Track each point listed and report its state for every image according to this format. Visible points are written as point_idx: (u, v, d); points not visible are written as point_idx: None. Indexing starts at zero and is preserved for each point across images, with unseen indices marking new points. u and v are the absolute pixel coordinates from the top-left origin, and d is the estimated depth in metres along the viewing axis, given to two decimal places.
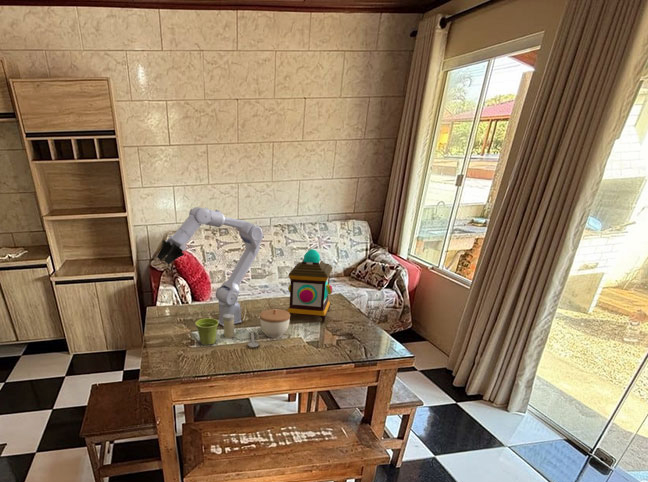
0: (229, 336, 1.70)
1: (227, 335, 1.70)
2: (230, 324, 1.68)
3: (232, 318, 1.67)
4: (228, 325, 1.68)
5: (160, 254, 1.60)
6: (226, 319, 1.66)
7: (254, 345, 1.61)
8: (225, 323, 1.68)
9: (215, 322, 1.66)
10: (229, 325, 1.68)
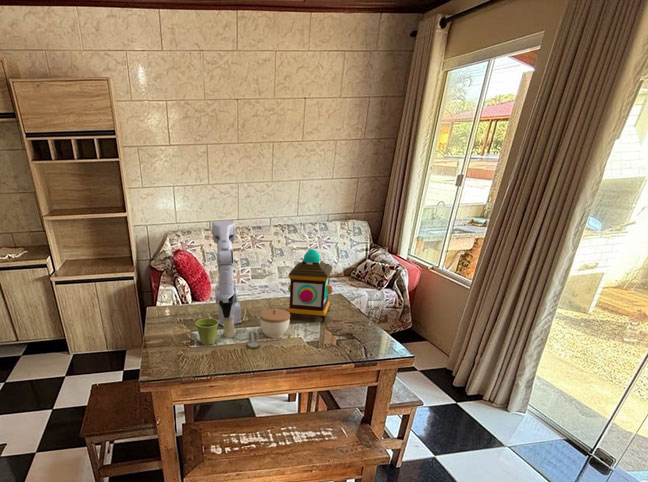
0: (229, 336, 1.70)
1: (227, 335, 1.70)
2: (230, 324, 1.68)
3: (232, 318, 1.67)
4: (228, 325, 1.68)
5: None
6: (226, 319, 1.66)
7: (254, 345, 1.61)
8: (225, 323, 1.68)
9: (215, 322, 1.66)
10: (229, 325, 1.68)
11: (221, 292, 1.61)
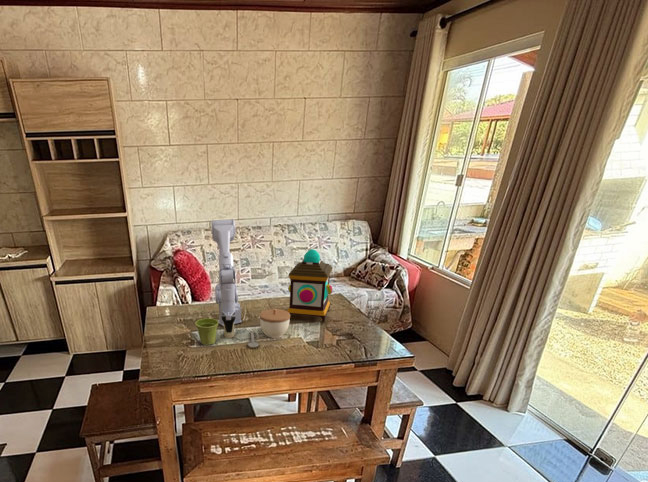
0: (229, 336, 1.70)
1: (227, 335, 1.70)
2: None
3: None
4: None
5: None
6: None
7: (254, 345, 1.61)
8: None
9: (215, 322, 1.66)
10: None
11: (223, 309, 1.64)
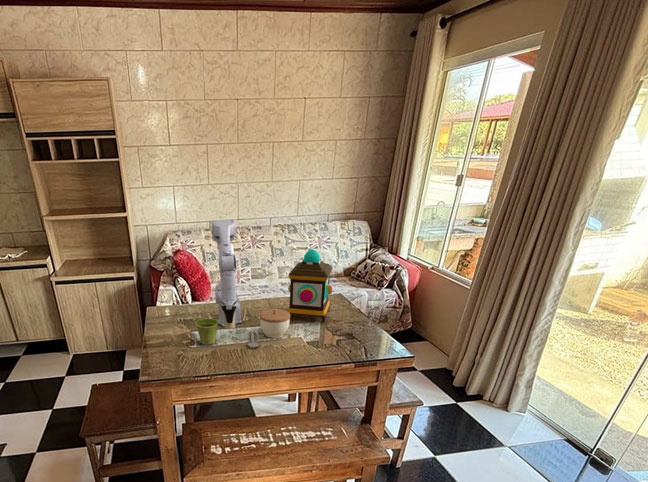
0: (230, 326, 1.62)
1: (227, 326, 1.62)
2: None
3: None
4: None
5: None
6: None
7: (254, 345, 1.61)
8: None
9: (215, 322, 1.66)
10: None
11: (223, 298, 1.57)
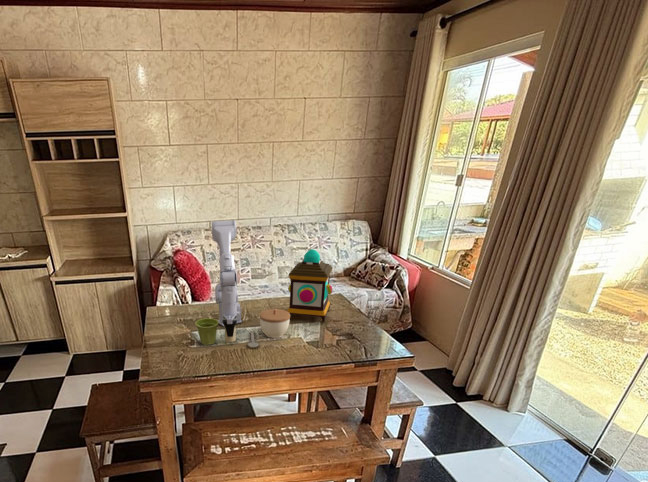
0: (231, 340, 1.64)
1: (228, 339, 1.64)
2: None
3: None
4: None
5: None
6: None
7: (254, 345, 1.61)
8: None
9: (215, 322, 1.66)
10: None
11: (224, 313, 1.59)
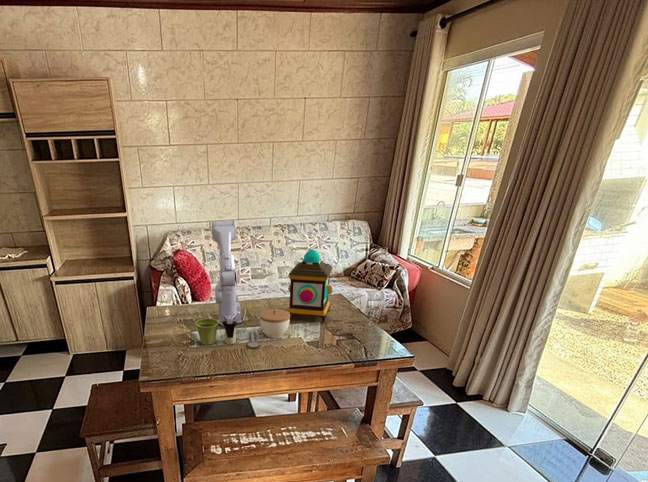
0: (231, 342, 1.65)
1: (228, 341, 1.65)
2: None
3: None
4: None
5: None
6: None
7: (254, 345, 1.61)
8: None
9: (215, 322, 1.66)
10: None
11: (224, 312, 1.59)
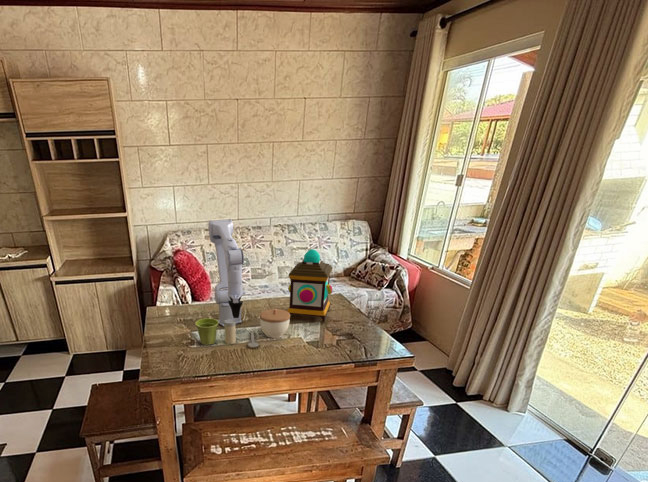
0: (231, 342, 1.65)
1: (228, 341, 1.65)
2: (231, 330, 1.62)
3: (233, 324, 1.62)
4: (229, 330, 1.62)
5: None
6: (227, 325, 1.61)
7: (254, 345, 1.61)
8: (226, 329, 1.63)
9: (215, 322, 1.66)
10: (231, 331, 1.62)
11: (230, 292, 1.58)
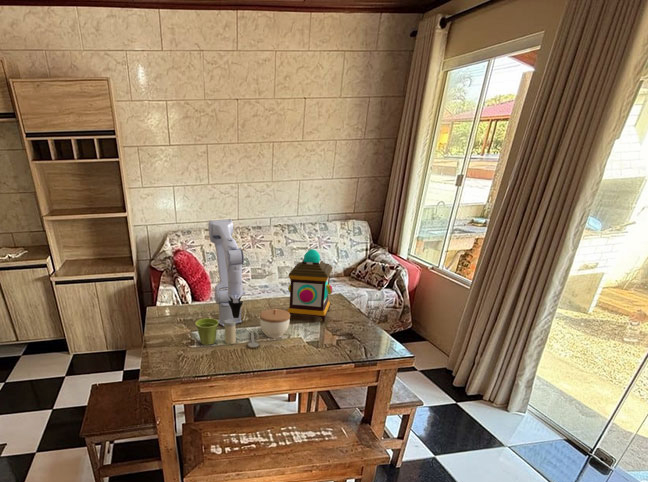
0: (231, 342, 1.65)
1: (228, 341, 1.65)
2: (231, 330, 1.62)
3: (233, 324, 1.62)
4: (229, 330, 1.62)
5: None
6: (227, 325, 1.61)
7: (254, 345, 1.61)
8: (226, 329, 1.63)
9: (215, 322, 1.66)
10: (231, 331, 1.62)
11: (230, 292, 1.58)
